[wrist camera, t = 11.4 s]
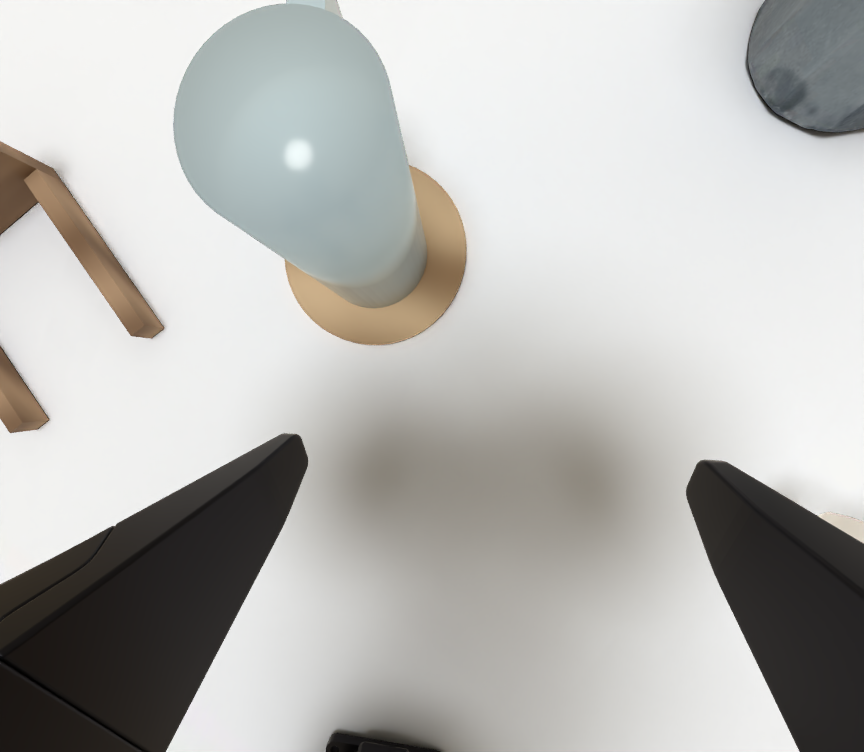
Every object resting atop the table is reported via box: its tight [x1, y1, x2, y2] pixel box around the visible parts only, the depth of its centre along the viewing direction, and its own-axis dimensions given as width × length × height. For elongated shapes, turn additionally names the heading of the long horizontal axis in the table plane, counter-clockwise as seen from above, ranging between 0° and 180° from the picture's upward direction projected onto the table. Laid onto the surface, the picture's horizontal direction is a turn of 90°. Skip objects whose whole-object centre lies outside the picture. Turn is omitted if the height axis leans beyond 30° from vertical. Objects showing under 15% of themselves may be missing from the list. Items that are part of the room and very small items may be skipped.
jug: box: [173, 0, 427, 308], centre depth 13 cm, size 9×6×10 cm, turn 1°
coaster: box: [285, 165, 466, 345], centre depth 18 cm, size 10×10×1 cm
